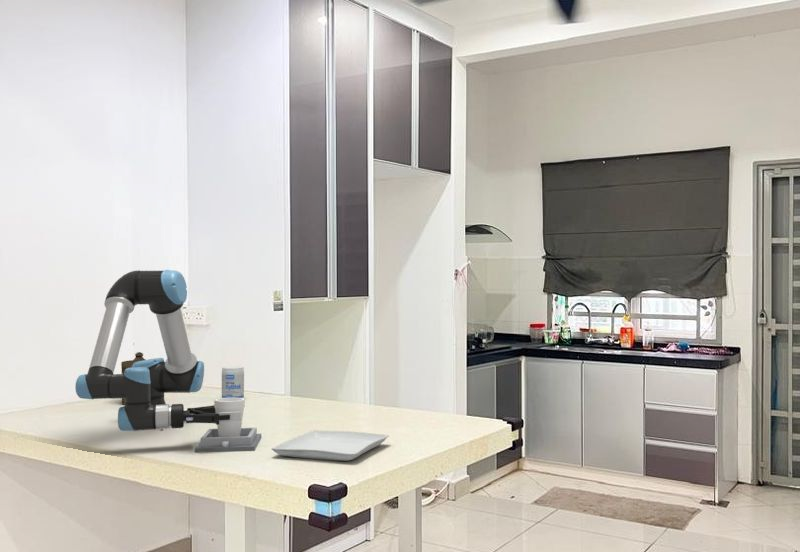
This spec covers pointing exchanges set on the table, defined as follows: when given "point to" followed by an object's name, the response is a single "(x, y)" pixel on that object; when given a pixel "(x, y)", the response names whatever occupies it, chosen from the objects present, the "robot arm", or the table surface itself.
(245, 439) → the tray
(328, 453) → the square plate
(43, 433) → the table surface
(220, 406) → the foam cup
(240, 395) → the supplement tub
